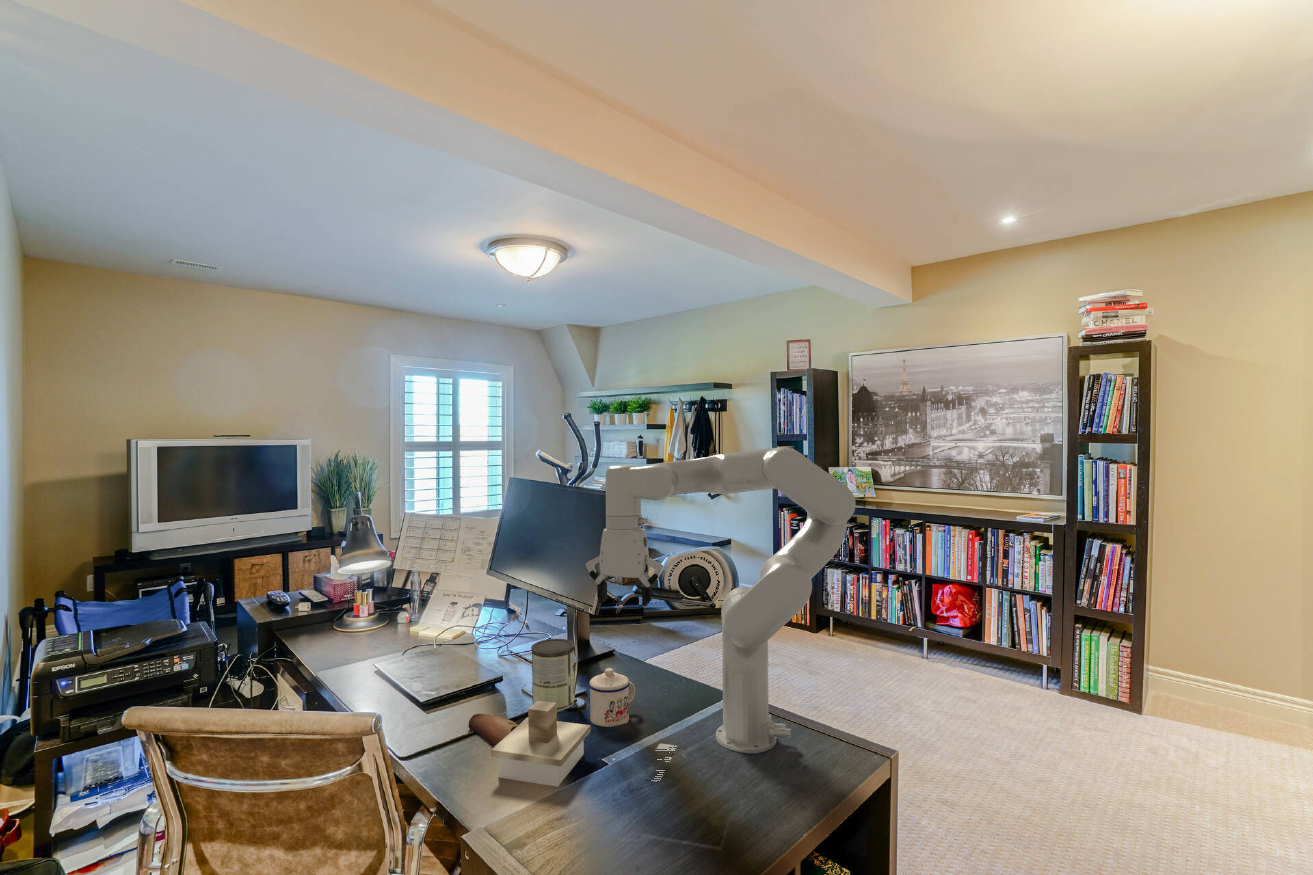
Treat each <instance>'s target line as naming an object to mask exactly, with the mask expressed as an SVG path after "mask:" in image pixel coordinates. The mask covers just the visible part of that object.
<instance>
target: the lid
mask: <svg viewBox="0 0 1313 875" xmlns="http://www.w3.org/2000/svg"><path fill="white" fill-rule="evenodd" d="M532 704H533V703H532ZM532 704H531V706H530V707H529V708H528V712H527V713H528V717H526V718H525V719H524V720H523V721H521V723H519V724H517V725H518V726H517V727H516V728H515V729H514V730H513V731H512V732H511V733H509V734H508V735H507V736H506V737H505V738H504V739H503V740H502V741H501V742H499V743H498V744H497V745H496V746H495V747H494V746H493V748H491V753H490V755H491V756H490V757H492V758H498V757H499V758H506V759H512V760H519V761H526V762H532V763H539V764H546V765H552V766H559V767H561V766H562V765H563V764H564V762H565V761H566V760H567V759H568V758H569V757H570V755H571V754H572V753H573V752H574V751H575V749H576V748H577V747H578V746H579V745H580V744H581V742H582V741H583V740H584V741H585V739H586V737H588V735H589V734H590V733H591V730H592V726H591V725H589V724H583V723H577V722H575V723H574V722H565V721H561V720H560V721H558V716H557V715H558V712H557V703H555V702H546V701H537V702H536V703H535V704H533V705H532Z"/></svg>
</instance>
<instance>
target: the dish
mask: <svg viewBox="0 0 1313 875" xmlns="http://www.w3.org/2000/svg"><path fill="white" fill-rule="evenodd" d="M584 741H585V739H584V740H583V741H582V742H581V744H580V745H579V746H578V747H577V748H576V749H575V751H574V752H573V753H572V754H571V755H570V757H569V758H568V759H567V760H566V761H565V762H564V764H563V765H562V766H561V767H559V766H552V765H546V764H539V763H532V762H526V761H519V760H512V759H506V758H499V757H497V759H498V760H497V761H498V763H497V764H498V765H497V766H498V767H497V769H498V772H497V776H498V778H499V779H506V780H513V781H518V782H525V783H531V784H538V785H545V786H549V787H550V786H551V787H557V788H558V787H559V786H560V785H561V783H562V782H564V780H565V778H566V777H567V776H568V775H569V773H571V771H572V770H573V768H574V767H575V766H576V765H577V764H578V762H579V761H580V760H581V759H582V757H583V756H584V754H585V752H584V751H585V750H584V748H585V746H584V745H585V744H584Z"/></svg>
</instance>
